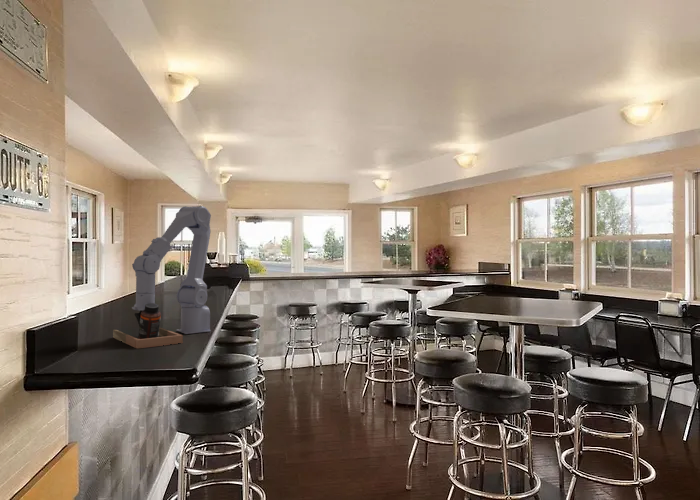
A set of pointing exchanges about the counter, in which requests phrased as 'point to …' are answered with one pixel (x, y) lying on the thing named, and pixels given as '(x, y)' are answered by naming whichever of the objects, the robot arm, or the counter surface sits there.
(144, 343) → the bay
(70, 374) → the counter surface
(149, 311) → the supplement bottle
